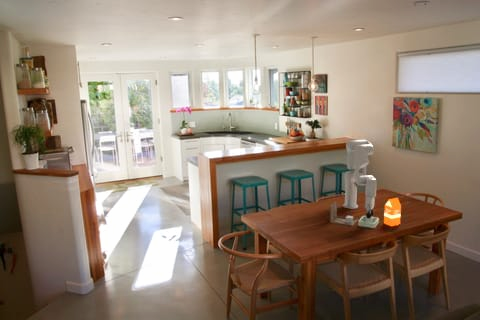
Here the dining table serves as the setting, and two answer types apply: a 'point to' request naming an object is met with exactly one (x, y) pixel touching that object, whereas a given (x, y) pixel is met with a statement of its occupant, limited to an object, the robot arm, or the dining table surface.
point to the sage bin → (365, 224)
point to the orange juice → (392, 212)
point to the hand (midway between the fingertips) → (369, 216)
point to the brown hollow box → (338, 219)
